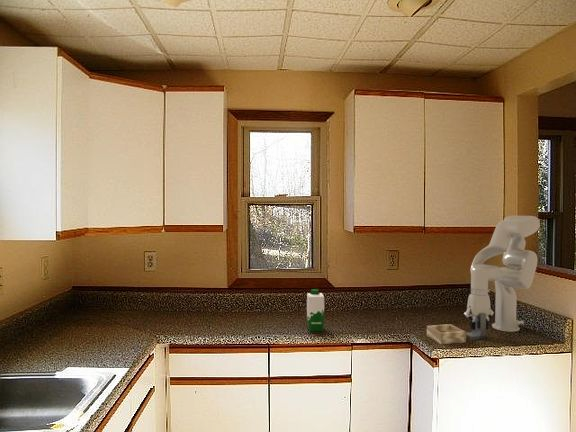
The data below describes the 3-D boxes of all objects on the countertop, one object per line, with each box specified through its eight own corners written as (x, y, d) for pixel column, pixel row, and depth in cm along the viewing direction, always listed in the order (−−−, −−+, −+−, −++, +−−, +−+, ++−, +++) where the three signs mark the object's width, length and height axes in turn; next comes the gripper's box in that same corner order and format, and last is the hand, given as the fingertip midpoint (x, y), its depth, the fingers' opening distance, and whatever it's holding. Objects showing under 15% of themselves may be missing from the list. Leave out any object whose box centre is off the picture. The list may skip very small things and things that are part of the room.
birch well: (450, 334, 198) (450, 324, 198) (465, 342, 186) (466, 331, 186) (426, 335, 195) (426, 325, 195) (440, 344, 184) (440, 333, 184)
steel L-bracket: (477, 334, 197) (477, 310, 197) (485, 338, 191) (486, 313, 191) (463, 335, 196) (463, 311, 195) (471, 339, 190) (471, 314, 189)
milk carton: (322, 326, 211) (322, 288, 211) (325, 331, 202) (325, 292, 202) (306, 326, 210) (306, 289, 210) (308, 332, 201) (308, 292, 201)
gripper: (489, 289, 199) (489, 325, 199) (458, 291, 195) (458, 327, 196) (500, 292, 191) (500, 330, 192) (468, 294, 188) (468, 332, 188)
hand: (478, 328), depth 194 cm, fingers open, 6 cm apart
